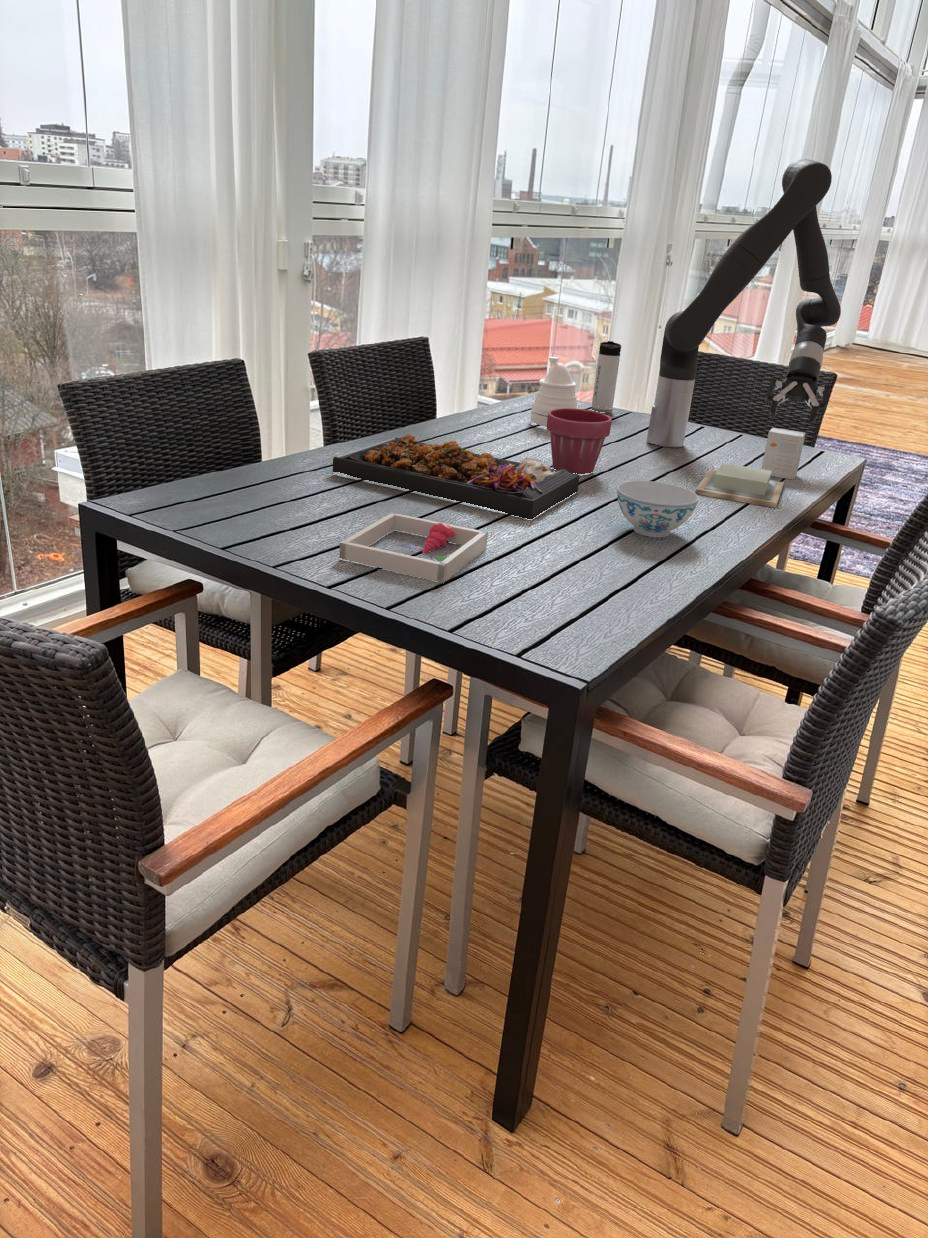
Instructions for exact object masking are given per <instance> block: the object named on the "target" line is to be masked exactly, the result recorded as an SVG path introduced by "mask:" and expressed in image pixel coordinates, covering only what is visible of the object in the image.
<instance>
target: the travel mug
mask: <svg viewBox="0 0 928 1238" xmlns="http://www.w3.org/2000/svg"><path fill="white" fill-rule="evenodd" d="M621 351H622V345H621V344H620V343H617V342H614V341H613V340H612V341H610V340H607V341H603V342H600V343H599V351H598V356H597V364H596V372H595V380H594V385H593V392H592V393H593V394H592V401H591V409H592V410H594V411H598V412H605V413H609V414H612V413H613V409H609V408H613V407H614V400H615V393H616V388H617V380H618V373H619V367H620V362H621V360H620V357H621ZM598 406H599V407H598ZM606 407H607V408H606ZM591 409H590V410H591ZM592 410H591V411H592ZM611 412H612V413H611Z"/></svg>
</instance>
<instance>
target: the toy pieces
mask: <svg viewBox="0 0 928 1238" xmlns="http://www.w3.org/2000/svg"><path fill="white" fill-rule="evenodd" d="M448 524H449V523H445V524H444V522H440V523H437V524H435V525H433V526H432V527H431V528H430V530H429V535H428V537H427V538H426V540H425V543H424V545H423V549H422V551H421V554H422V553H426V552H429V551H432V550H434V551H436V550H435V549H438V550H439V549H441V548H440V547H444V548H445V547H446V546H447V545H448V543H447V539H446V537H454V536H455V535H456V534H455V532H454V530H453V529H452V527H451V526H449V525H448ZM405 544H406V545H403V544H402V545H403V546H402V547H405V548H409V549H416V546H415V545H416V544H414V543H405ZM413 544H414V545H413ZM432 552H433V551H432ZM429 553H430V552H429ZM426 554H427V553H426ZM448 556H449V555H435V557H434V558H435V559H436V560H438V561H443V560H445V559H446V558H447V557H448Z"/></svg>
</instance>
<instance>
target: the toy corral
mask: <svg viewBox="0 0 928 1238" xmlns="http://www.w3.org/2000/svg"><path fill="white" fill-rule="evenodd" d="M437 523H441V521H435V520H429V519H424V518H420V517H416V516H410V515H405V514H401V513H395V512H390V513H389V514H387V515H385V516H383V517H382V518H380V519H378V520H377V521H375V522H373V523H372V524H370V525H368V526H366V527H365V528H363V529H361V530H360V531H358V532H356V533H354V534H352V535H351V536H349V537H347V538H345V539H344V540H342V541H341V542H339V558H342V559H345V560H349V561H355V562H359V563H363V564H368V565H371V566H375V567H379V568H383V569H387V570H390V571H395V572H399V573H402V574H403V573H404V574H407V575H411V576H415V577H420V578H423V579H422V580H424V579H428V580H427V581H429V580H433V581H438V582H441V583H440V584H442V583H443V584H445V583H446V582H447V581H448V580H449V579H451V578H452V577H453V576H454V575H456V574H457V573H458V572H459V571H461V570H462V569H463V568H464V567H466V566H467V565H468V564H469V563H470V562H469V561H471V562H472V561H473V560H474V559H476V558H477V557H478V556H480V555H481V554H482V553H483V552H484V551H486V550H487V545H488V534H489V532H488V531H485V530H484V531H483V530H480V529H479V530H478V529H473V528H469V527H464V526H460V525H455V524H450V523H447V524H448V525H449V526H451V527H452V529H453V530H454V532H455V534H456V535H455V536H454V537H446V539H447V541H448V542H452V543H456V544H461V545H463V546H461V545H460V547H459V548H458V549H457V550H455V551H454V552H452V553H451V554H449V555H448V556H449V557H447V558H446V559H445V560H443V561H442V562H437V561H433V560H432V559H427V558H423V557H421V558H419V556H411V554H410V555H409V554H406V553H400V552H396V551H395V552H394V551H391V550H386V549H383V548H382V549H381V548H378V547H372V546H370V547H369V546H368V545H370V544H372V543H373V542H375V541H376V540H378V539H379V538H381V537H382V536H384V535H386V534H387V533H389V532H390V531H393V530H398V531H405V532H409V533H414V534H418V535H422V536H427V537H428V535H429V530H430V528H431V527H432V526H433V525H435V524H437ZM443 523H444V522H443ZM444 524H446V523H444ZM456 544H455V545H456ZM481 552H482V553H481ZM405 554H406V555H405ZM475 557H476V558H475ZM339 558H338V559H339ZM468 562H469V563H468ZM467 563H468V564H467ZM466 564H467V565H466ZM465 565H466V566H465ZM463 566H464V567H463ZM462 567H463V568H462ZM461 568H462V569H461ZM460 569H461V570H460ZM458 570H459V571H458ZM457 571H458V572H457ZM456 572H457V573H456ZM455 573H456V574H455ZM402 574H401V575H402ZM453 574H454V575H453ZM452 575H453V576H452ZM411 576H410V577H411ZM451 576H452V577H451ZM415 577H414V578H415ZM450 577H451V578H450ZM420 578H419V579H420ZM448 578H449V579H448ZM447 579H448V580H447ZM446 580H447V581H446ZM433 581H432V582H433ZM445 581H446V582H445ZM444 582H445V583H444Z"/></svg>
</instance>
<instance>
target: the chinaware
mask: <svg viewBox="0 0 928 1238" xmlns="http://www.w3.org/2000/svg"><path fill="white" fill-rule="evenodd" d="M616 496H617V500H618V505H619V508H620V511H621V513H622V514H623V516H624V517H625V519H626V520H627V521H628V522H629V523H630V524H631V525H632V526H633V527H632V528H633V531H634V532H635V533H637V534H639V535H641V536H643V537H649V538H665V537H668V536H669V535H670V532H671V531H673V530H675V529H678V528H679V527H680V526H682V525H684V523H686V522H687V521H688V519H689V518H690V517H691V516H692V514H693V513H694V511H695V509H696V507H697V506H698V503H699V499H700V497H699V494H696V493H695V492H694V491H693V490H690V489H688V488H685V487H683V486H679V485H676V484H671V483H667V482H662V481H661V482H660V481H651V480H630V481H624V482H622V483H619V484H618V486H617V487H616Z"/></svg>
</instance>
